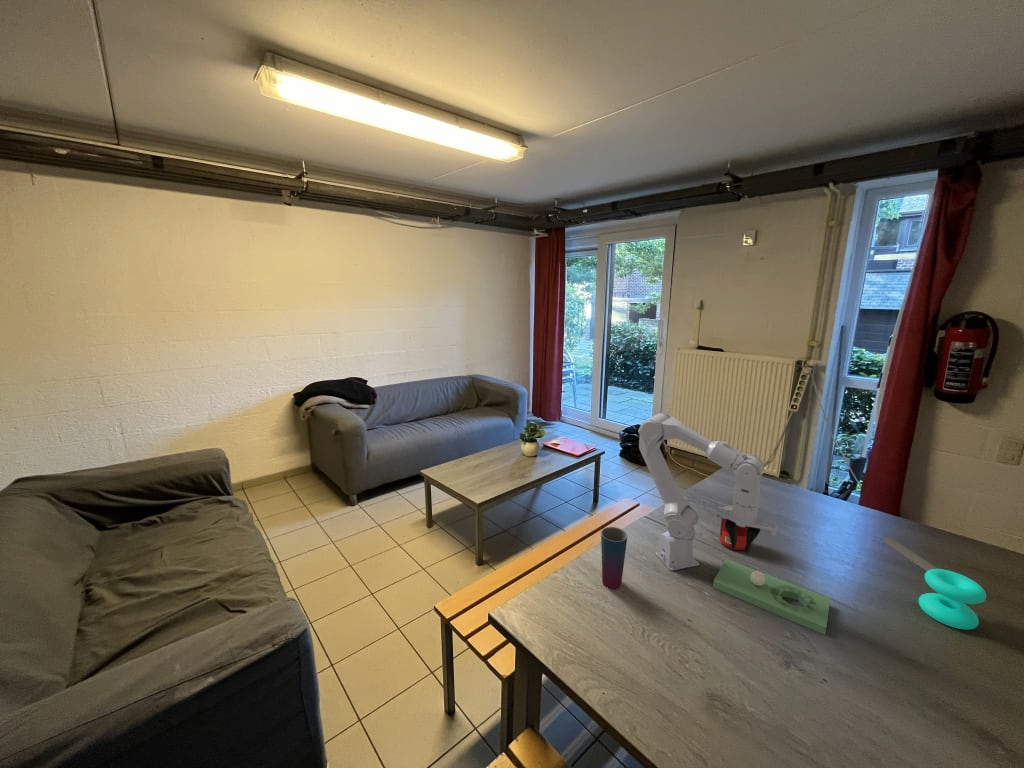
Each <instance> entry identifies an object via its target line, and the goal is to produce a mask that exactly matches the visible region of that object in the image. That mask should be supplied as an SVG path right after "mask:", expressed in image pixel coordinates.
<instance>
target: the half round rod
mask: <svg viewBox="0 0 1024 768" xmlns="http://www.w3.org/2000/svg"><path fill="white" fill-rule="evenodd" d="M881 541H882V542H883V543H884V542H885V544H886V543H887V544H888V545H887V544H886V545H887V546H889V545H890V546H891V547H890V546H889V547H890V548H892V547H893V548H895V549H896V550H897V551H896V550H895V549H894V550H895V551H896V552H898V551H899V552H900V553H901V554H900V553H899V552H898V553H899V554H900V555H902V554H903V555H904V557H905V558H906V557H907V559H908V560H909V559H910V560H909V561H910V562H912V561H913V562H912V563H914V564H915V563H916V564H915V565H917V566H918V565H919V566H920V567H919V566H918V567H919V568H921V569H922V568H923V569H922V570H924V571H925V570H926V571H925V572H927V571H928V570H931V569H939V567H937V566H935V565H933V564H932V563H931V562H930V561H928V560H926V558H923V557H922V556H920V555H919V554H917V553H916V552H914V551H912V550H911V549H910V548H908V547H906V546H905V545H904V544H902V543H900V542H899V541H897V540H896V539H894V538H893V537H890V536H885V537H883V538H882V539H881ZM893 548H892V549H893ZM903 555H902V556H903Z"/></svg>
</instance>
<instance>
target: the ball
mask: <svg viewBox="0 0 1024 768" xmlns="http://www.w3.org/2000/svg"><path fill="white" fill-rule="evenodd" d="M762 573H763V572H762ZM762 573H761V571H759V570H756V571H754V572H752V573H751V575H750V579H751V581H752V582H753V583H754V584H755V585H757V586H762V585H764V584H765V582H766V578H765V576H764V575H763V574H762Z"/></svg>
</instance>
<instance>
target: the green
mask: <svg viewBox="0 0 1024 768" xmlns="http://www.w3.org/2000/svg"><path fill="white" fill-rule="evenodd" d="M723 561H724V562H723V563H722V564H721V567H720V569H719V571H718V572H717V574H716V576H715V578H714V579H713V585H712V588H714V589H716V590H718V591H721V592H722V593H725V594H727V595H730V596H732V597H735V598H737V599H740V600H741V601H744V602H746V603H749V604H751V605H753V606H756V607H758V608H760V609H762V610H766V611H768V612H770V613H773V614H774V615H776V616H778V617H779V616H780V618H781V617H782V618H784V619H785V620H789V621H790V622H793V623H795V624H798V625H801V626H802V627H805V628H807V629H810V630H812V631H815V632H817V633H819V634H821V635H824V636H825V635H826V632H827V626H828V619H829V610H830V602H831V597H828V596H825V595H822V594H819V593H816V592H814V591H811V590H809V589H806V588H803V587H801V586H798V585H796V584H794V583H790V582H788V581H785V580H782V579H780V578H777V577H774V576H772V575H769V574H766V573H764V572H761V571H760V572H761V573H762V574H763V575H764V576H765V578H766V582H765V584H764V585H762V586H757V585H755V584H754V583H753V582H752V581H751V579H750V575H751V573H752V572H754V571H757V570H755V569H754V568H751V567H748V566H745V565H742V564H740V563H737V562H735V561H732V560H729V559H727V558H725V559H724V560H723ZM783 598H789V599H792V600H795V601H797V602H798V603H800V604H801V605H803V606H797V605H793V604H791V603H789V602H787V601H786V600H785V599H783Z"/></svg>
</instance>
